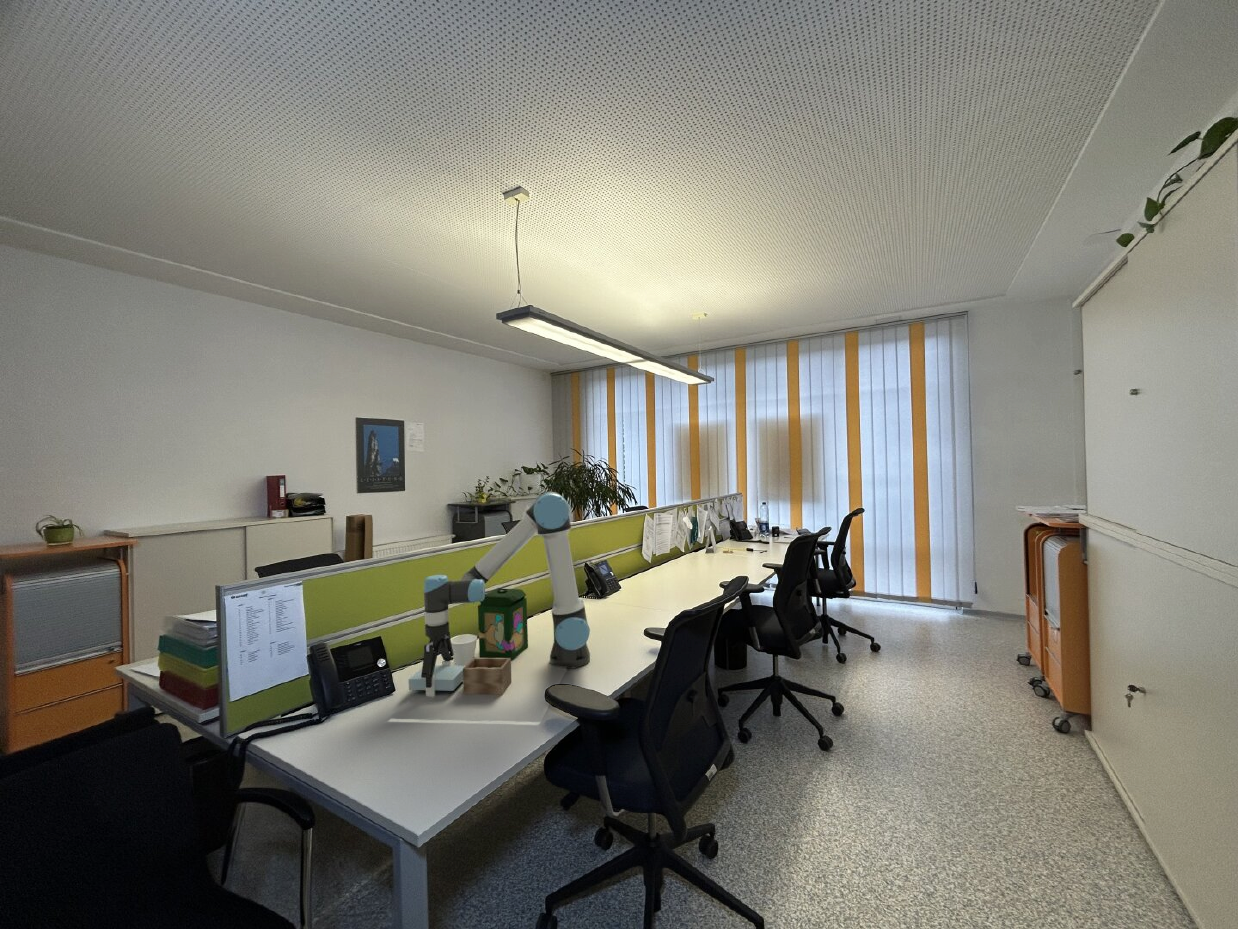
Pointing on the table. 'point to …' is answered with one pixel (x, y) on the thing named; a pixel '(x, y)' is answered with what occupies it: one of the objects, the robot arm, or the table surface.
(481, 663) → the crate
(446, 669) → the lid
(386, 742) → the table surface
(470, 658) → the cup
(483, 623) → the container
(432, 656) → the robot arm
